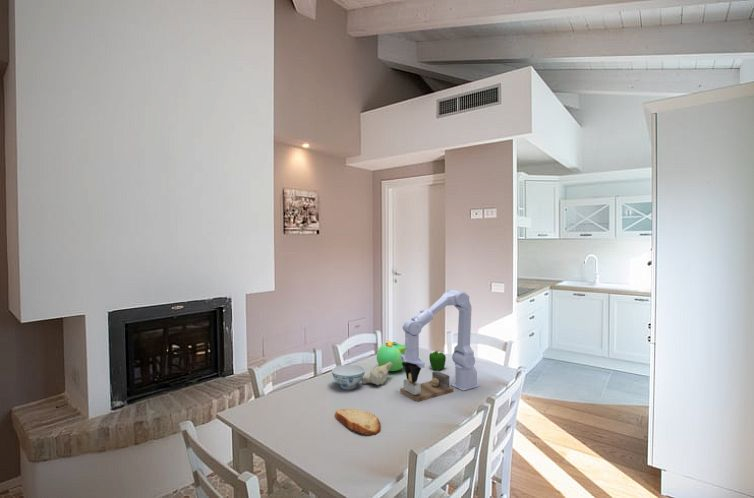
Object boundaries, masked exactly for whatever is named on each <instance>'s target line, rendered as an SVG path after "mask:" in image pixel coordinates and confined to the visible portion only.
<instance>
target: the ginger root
mask: <svg viewBox="0 0 754 498" xmlns="http://www.w3.org/2000/svg"><path fill="white" fill-rule="evenodd" d="M392 365H393V364H392V363H391V362H389V363H388V362H387V364H386V365H382V366H379V365H378V366H375V367H374V368H373V369H372V370H370V372H369V374H367V375H364V376H363V378H362V380H361V381H360V382H361V383H362V384H364V385H365V384H373V385H377V386H379V385H383V384H384V383H385V382H386V381H387V377H388V373H389V372H390V371H389V370H390V368H391V366H392Z"/></svg>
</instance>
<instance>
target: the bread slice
mask: <svg viewBox="0 0 754 498" xmlns="http://www.w3.org/2000/svg"><path fill="white" fill-rule="evenodd" d="M334 418H335V419H336V420H337V421H338V422H339V423H341V424H342V425H343V426H344V427H346V428H347V429H350V430H351V431H354V432H356V433H359V434H362V435H364V436H372V435H374V436H376V435H378V434H379V433H381V431H382V430H381V428H382V425H381V422H380V420H379V418H378V417H377V416H376V415H375V414H373V413H371V412H368V411H365V410H364V411H363V410H359V409H357V408H356V409H353V408H341V409H336V410H335V413H334Z"/></svg>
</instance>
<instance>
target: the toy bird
mask: <svg viewBox="0 0 754 498" xmlns="http://www.w3.org/2000/svg"><path fill="white" fill-rule="evenodd" d="M385 342H386V343H383V344H381V346H379V348H378V350H377V352H376V361H377V364H378V366H382V365H386V364H387V362H388V363H389V362H391V363H392V364H393V365H392V366H391V368H390V370H389V371H388V372H397V371H399V370H401V369H404V367H403V365H402V363H403V362H404V361H403V360H401V359H400V355H403V354H404V355H405V344H403V345H402V344H400V343H398V342H396V341H390V340H386V341H385Z"/></svg>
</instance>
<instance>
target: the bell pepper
mask: <svg viewBox="0 0 754 498" xmlns="http://www.w3.org/2000/svg"><path fill="white" fill-rule="evenodd" d="M428 356H429V364H430V367H431V369H433V371H441V370H443V369H444V368H445V366H446V358H447V357H446V355H445V353H443V352H439V350H435V351H433V352H430V353H429V355H428Z"/></svg>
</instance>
